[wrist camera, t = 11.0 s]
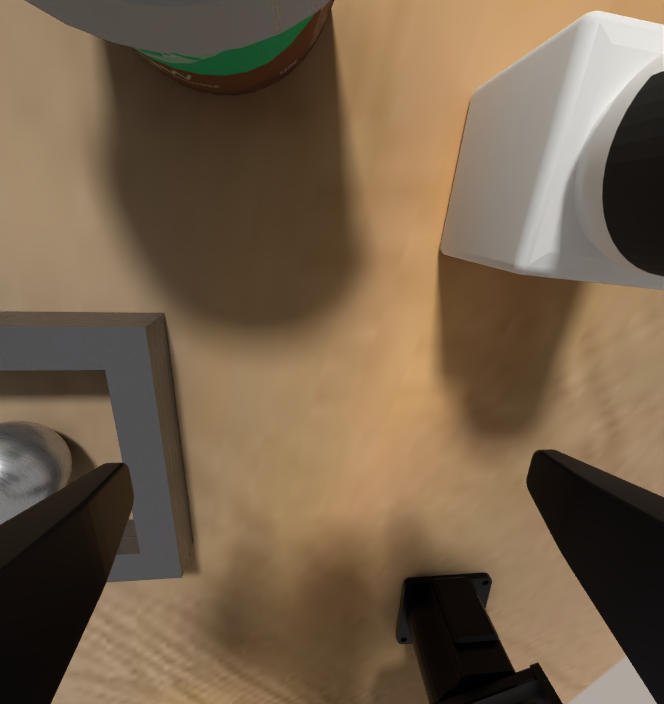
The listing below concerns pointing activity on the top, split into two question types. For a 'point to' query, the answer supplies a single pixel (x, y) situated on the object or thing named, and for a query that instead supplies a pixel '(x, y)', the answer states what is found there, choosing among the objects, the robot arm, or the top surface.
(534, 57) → the medicine bottle
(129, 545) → the grey square frame
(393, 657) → the top surface
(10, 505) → the steel ball
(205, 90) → the food container
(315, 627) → the top surface
